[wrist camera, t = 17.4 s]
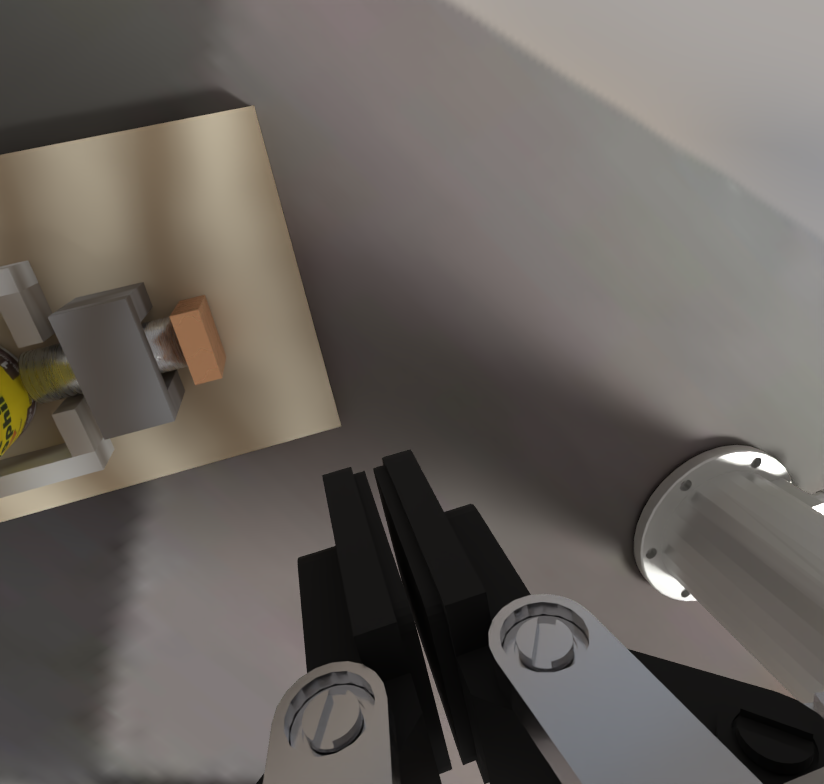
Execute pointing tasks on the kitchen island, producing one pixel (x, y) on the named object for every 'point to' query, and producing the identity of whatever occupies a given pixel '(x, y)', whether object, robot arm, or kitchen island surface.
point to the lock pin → (169, 340)
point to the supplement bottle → (12, 401)
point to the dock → (152, 305)
